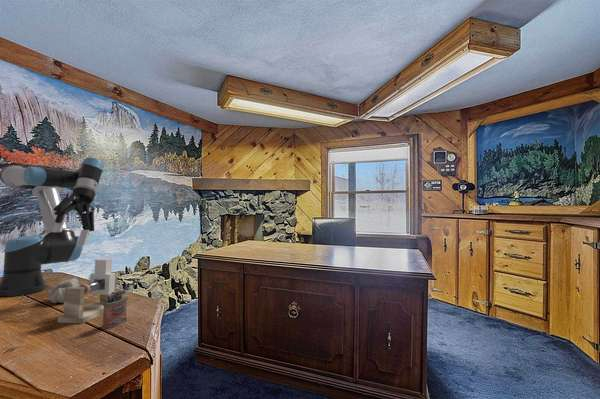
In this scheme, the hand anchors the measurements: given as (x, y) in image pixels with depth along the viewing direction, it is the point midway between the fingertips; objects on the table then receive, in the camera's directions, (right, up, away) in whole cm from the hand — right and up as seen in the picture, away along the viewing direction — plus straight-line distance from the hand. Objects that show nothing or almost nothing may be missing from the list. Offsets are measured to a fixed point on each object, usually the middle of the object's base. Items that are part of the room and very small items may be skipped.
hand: (69, 239), depth 111 cm
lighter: (+30, -24, -21) cm, 44 cm away
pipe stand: (+17, -24, -11) cm, 31 cm away
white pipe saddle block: (+17, -19, -7) cm, 26 cm away
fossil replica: (-4, -24, +2) cm, 25 cm away
